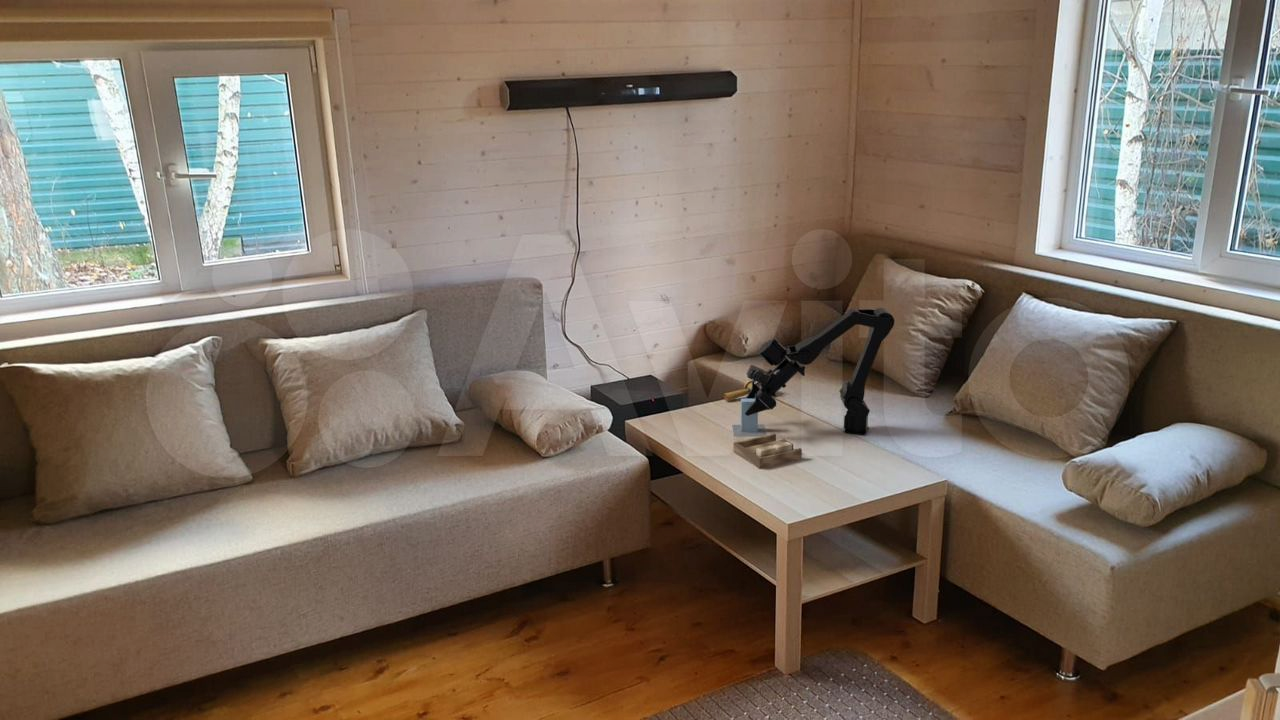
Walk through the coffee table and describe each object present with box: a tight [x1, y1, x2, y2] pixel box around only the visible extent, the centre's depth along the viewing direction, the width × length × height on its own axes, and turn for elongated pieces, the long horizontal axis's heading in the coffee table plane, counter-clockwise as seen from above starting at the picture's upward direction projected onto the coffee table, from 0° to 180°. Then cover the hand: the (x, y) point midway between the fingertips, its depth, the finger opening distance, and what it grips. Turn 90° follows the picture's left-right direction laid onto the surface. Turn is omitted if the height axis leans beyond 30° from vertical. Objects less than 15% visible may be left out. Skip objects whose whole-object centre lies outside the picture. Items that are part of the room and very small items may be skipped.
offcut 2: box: [773, 441, 793, 454], centre depth 276 cm, size 5×2×4 cm, turn 116°
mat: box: [731, 423, 767, 438], centre depth 299 cm, size 10×10×1 cm
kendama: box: [723, 379, 753, 403], centre depth 329 cm, size 8×6×18 cm
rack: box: [733, 433, 803, 470], centre depth 279 cm, size 14×14×4 cm
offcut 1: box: [756, 446, 775, 457], centre depth 274 cm, size 5×2×4 cm, turn 116°
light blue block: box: [740, 398, 759, 432], centre depth 297 cm, size 5×3×10 cm, turn 88°
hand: (744, 409), depth 297 cm, fingers open, 9 cm apart
